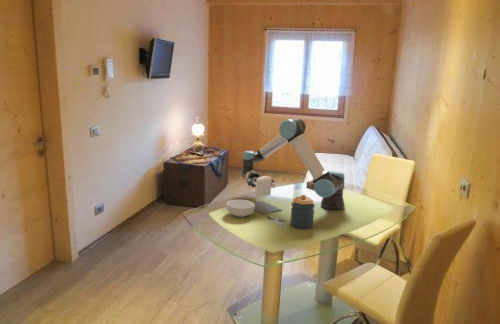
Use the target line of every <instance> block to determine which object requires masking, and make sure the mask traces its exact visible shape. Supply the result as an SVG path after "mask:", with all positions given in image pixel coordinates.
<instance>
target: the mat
mask: <svg viewBox="0 0 500 324" xmlns="http://www.w3.org/2000/svg"><path fill="white" fill-rule="evenodd" d="M253 203H255V209H254V211H255V210H256V211H255V212H257V211H258V212H257V213H259V212H260V213H259V214H261V213H262V214H261V215H263V214H264V215H266V214H265V213H269V214H271V213H270V212H273V213H276V212H275V211H278V212H281V211H280V210H282V211H283V209H282V208H280V207H278V206H275V205H273V204H271V203H268V202H266V201H264V200H259V201H256V202H253Z"/></svg>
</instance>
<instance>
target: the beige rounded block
mask: <svg viewBox="0 0 500 324" xmlns="http://www.w3.org/2000/svg"><path fill="white" fill-rule="evenodd" d="M272 180H273V179H272V177H271V176H268V175H262V176H260V177H259V178H257V180H256V183H257V184H258V185H259V189H257V188H255V197H268V196H271V195H272V193H271V192H272V187H271V181H272Z"/></svg>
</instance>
